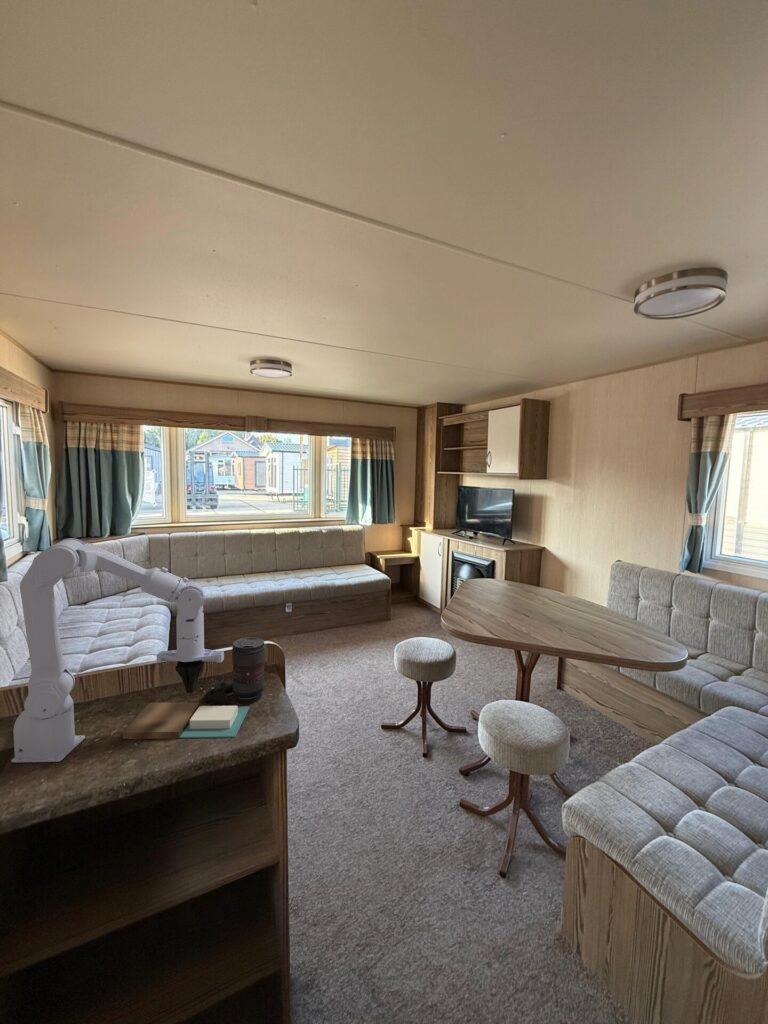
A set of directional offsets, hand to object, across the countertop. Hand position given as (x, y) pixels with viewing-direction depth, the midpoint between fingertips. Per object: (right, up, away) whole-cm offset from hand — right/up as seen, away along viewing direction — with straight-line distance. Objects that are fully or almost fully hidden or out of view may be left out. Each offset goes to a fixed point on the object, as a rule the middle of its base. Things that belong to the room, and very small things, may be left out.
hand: (191, 691), depth 98 cm
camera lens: (+10, -7, +12) cm, 17 cm away
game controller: (+3, -7, +12) cm, 14 cm away
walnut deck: (-7, -8, 0) cm, 10 cm away
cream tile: (+5, -6, +1) cm, 8 cm away
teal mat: (+6, -8, +1) cm, 10 cm away
